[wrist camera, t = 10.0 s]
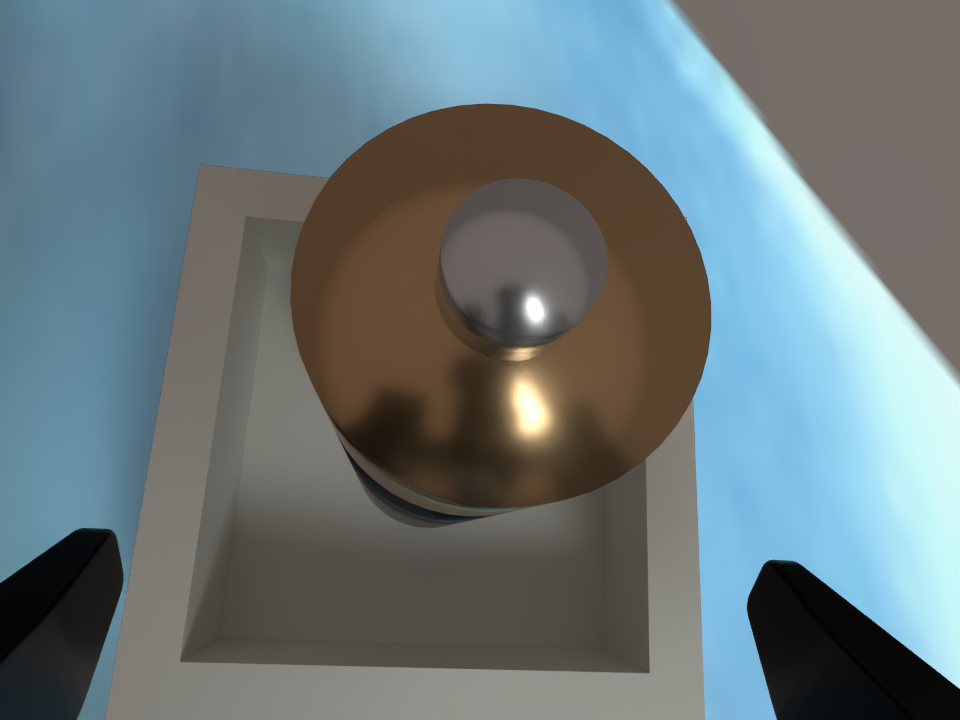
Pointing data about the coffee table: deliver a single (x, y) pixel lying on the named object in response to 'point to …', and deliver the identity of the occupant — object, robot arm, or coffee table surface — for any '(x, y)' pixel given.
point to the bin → (372, 540)
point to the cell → (497, 312)
